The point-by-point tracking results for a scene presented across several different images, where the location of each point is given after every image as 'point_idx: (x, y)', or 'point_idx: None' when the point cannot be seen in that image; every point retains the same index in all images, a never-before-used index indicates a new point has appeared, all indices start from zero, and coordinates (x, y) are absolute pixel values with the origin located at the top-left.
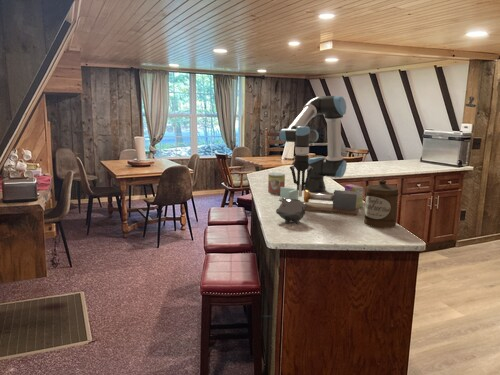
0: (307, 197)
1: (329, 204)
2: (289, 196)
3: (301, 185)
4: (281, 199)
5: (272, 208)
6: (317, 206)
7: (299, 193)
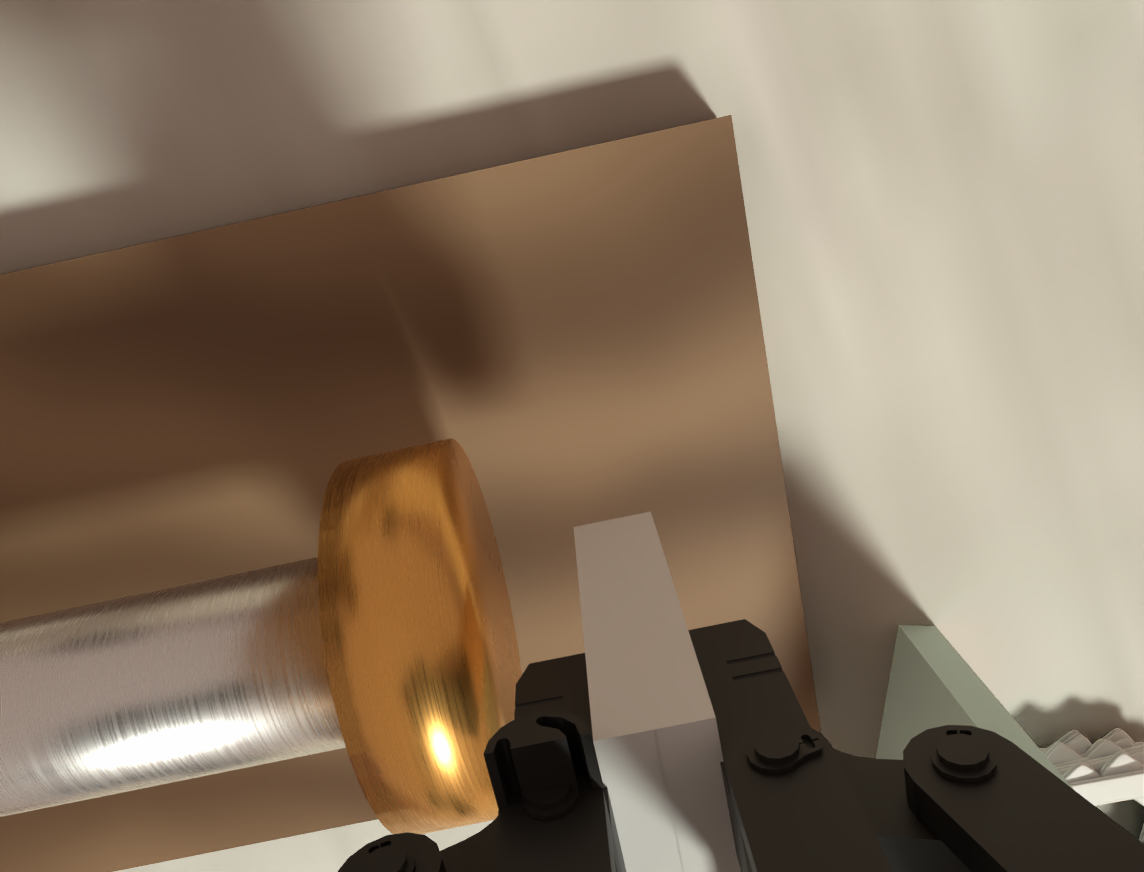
0: (335, 471)
1: (76, 829)
2: (979, 721)
3: (594, 736)
4: (1141, 761)
5: (1122, 3)
6: (193, 535)
7: (632, 555)
